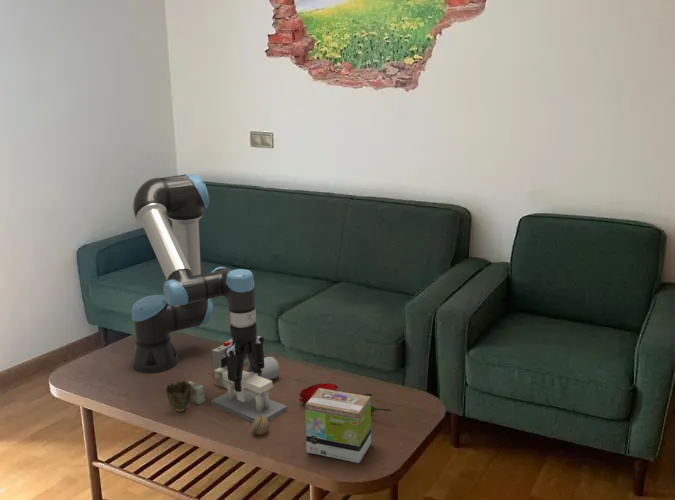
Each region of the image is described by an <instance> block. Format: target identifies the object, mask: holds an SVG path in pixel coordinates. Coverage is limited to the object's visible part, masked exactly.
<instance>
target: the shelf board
mask: <svg viewBox="0 0 675 500" xmlns="http://www.w3.org/2000/svg"><path fill="white" fill-rule="evenodd" d="M222 375H223V379H224V380H226V381H229V382H231V383H234V382H232V381H230V380H228V371H226V372H224V373H222ZM242 380H243V381H244V389H245V390H248V391H251V390H252V391H254V392H257V393H259V394H261V395H262V394H263V392H265V391H267V390H268V391H269V390H271V389H273V388H274V385H273V380H268V379H265V378H262V377H260V376H257V375H254V374H251V373H249V372H248V371H246V370H244V369H243V372H242Z"/></svg>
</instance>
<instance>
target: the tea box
mask: <svg viewBox="0 0 675 500" xmlns="http://www.w3.org/2000/svg"><path fill="white" fill-rule="evenodd" d="M371 400H372V396H365V395H364V394H357V393H354V392H353V393H351V392H346V391H340V390H336V391H334V390H329V389H322V388H319V389H318V390H317V391H316V392H315V394H314V395H313V396H312V397H311V398H310V400H309V401H308V402H307V403H304V413H305V414H304V416H305V442H306V443H305V444H306V453H307V454H314V455H318V456H324V457H328V458H333V459H338V460H343V461H346V462H347V461H348V462H351V463H356V464H359V463H360V462H361V461H362V459H363V458H364V456H365V454H366V453H367V451H368V449H369V447H370V446H371V444H372V413H371V406H372V403H371V402H372V401H371Z"/></svg>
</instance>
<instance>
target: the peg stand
mask: <svg viewBox="0 0 675 500" xmlns="http://www.w3.org/2000/svg"><path fill="white" fill-rule="evenodd" d="M227 385H228V389H227V392H225V393H224V394H221V395H219V396H217V397H215V398H212V399H211V400H210V401H211V403H210V404H211V405H212V406H213V407H216V408H218V409H220V410H222V411H225V412H227V413H230V414H232V415H234V416H237V417H238V418H241V419H243V420H246V421H248V422H250V423H252V424H253V422H254V420H255V419H256V417H258V416H264V417H265V418H267V420H268V422H270V421H273V420H274V419H276V418H277V417H280V415H283V414H285V413H286V412H288V405H285V404H283V403H280V402H277V401H275V400H272V399H270V396H269V390H267V391H265V392H263V393H261V394H259V393H256V394H255V393H252V392H251V390H248V389H246V388H244V390H245V401H244V402H242V401H240V400H237V392H236V391H235V388H234V387H233V383H231V382H228V383H227Z"/></svg>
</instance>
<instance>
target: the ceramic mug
mask: <svg viewBox="0 0 675 500" xmlns="http://www.w3.org/2000/svg"><path fill="white" fill-rule="evenodd" d="M280 366H281V365H280V363H279V361H278V360H277V358H275V356H266V357H264V368H263V369H261V370H262V373H259V376H260V377H262V378H265V379H268V380H270V381H273V380H274V379H276V378H277V377H279V375H280V373H281V367H280ZM251 371H252V369H251V366H250V362H248V367H247V372H249V373H250V372H251ZM252 372H253V371H252Z"/></svg>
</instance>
